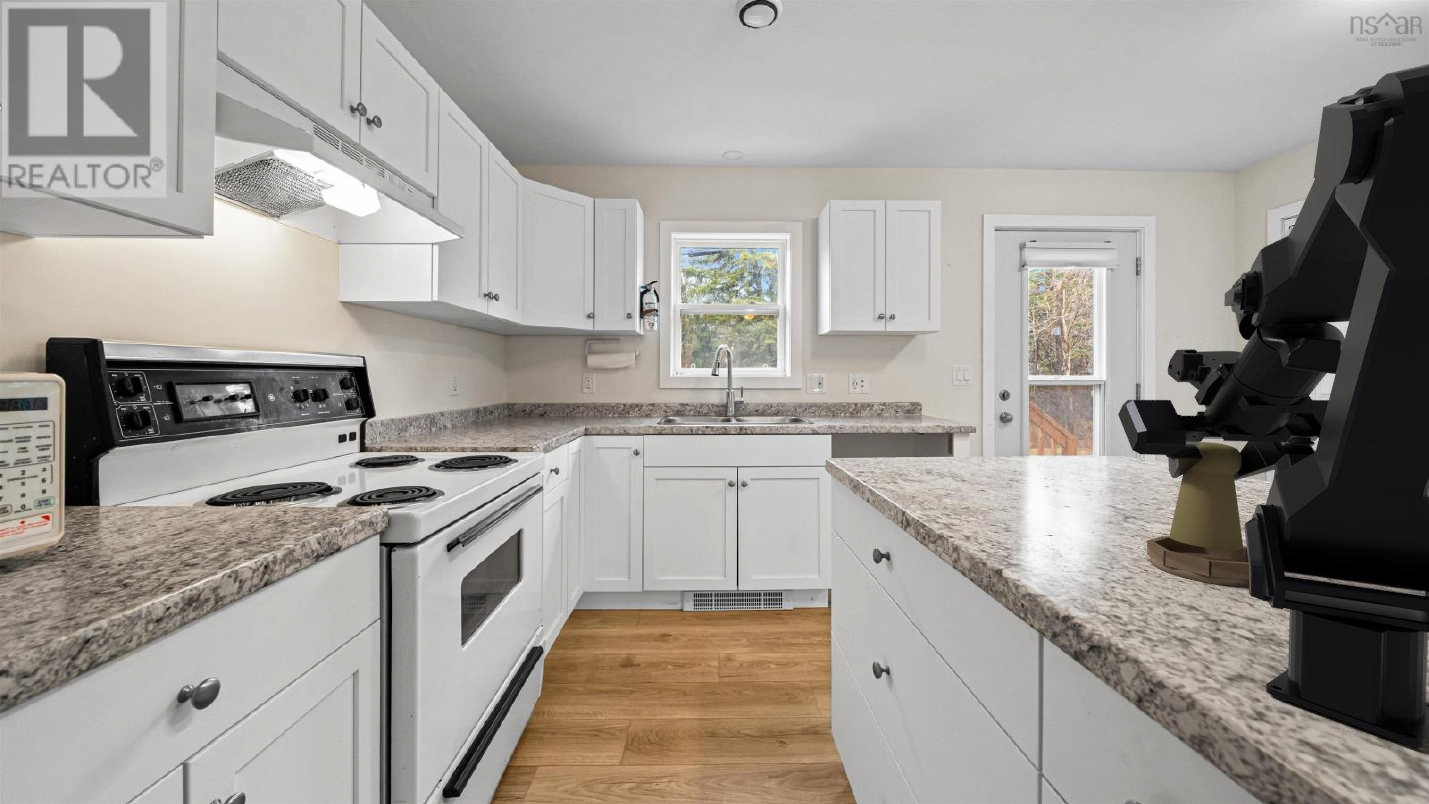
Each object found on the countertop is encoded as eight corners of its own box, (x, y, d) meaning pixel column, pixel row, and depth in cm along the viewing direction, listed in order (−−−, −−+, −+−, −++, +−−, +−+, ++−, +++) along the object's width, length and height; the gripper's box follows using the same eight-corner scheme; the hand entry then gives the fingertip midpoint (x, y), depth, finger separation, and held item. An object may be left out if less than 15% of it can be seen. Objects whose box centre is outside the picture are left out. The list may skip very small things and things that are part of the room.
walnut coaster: (1247, 593, 53) (1247, 569, 53) (1134, 565, 61) (1134, 544, 61) (1283, 576, 57) (1284, 554, 57) (1173, 551, 66) (1173, 532, 66)
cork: (1212, 535, 62) (1216, 440, 61) (1259, 551, 56) (1265, 446, 55) (1156, 533, 62) (1160, 439, 62) (1197, 548, 56) (1202, 445, 56)
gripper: (1353, 317, 52) (1270, 423, 63) (1126, 325, 57) (1087, 421, 68) (1431, 399, 45) (1322, 503, 55) (1163, 399, 50) (1112, 494, 61)
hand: (1201, 475), depth 60 cm, fingers closed on cork, 5 cm apart
